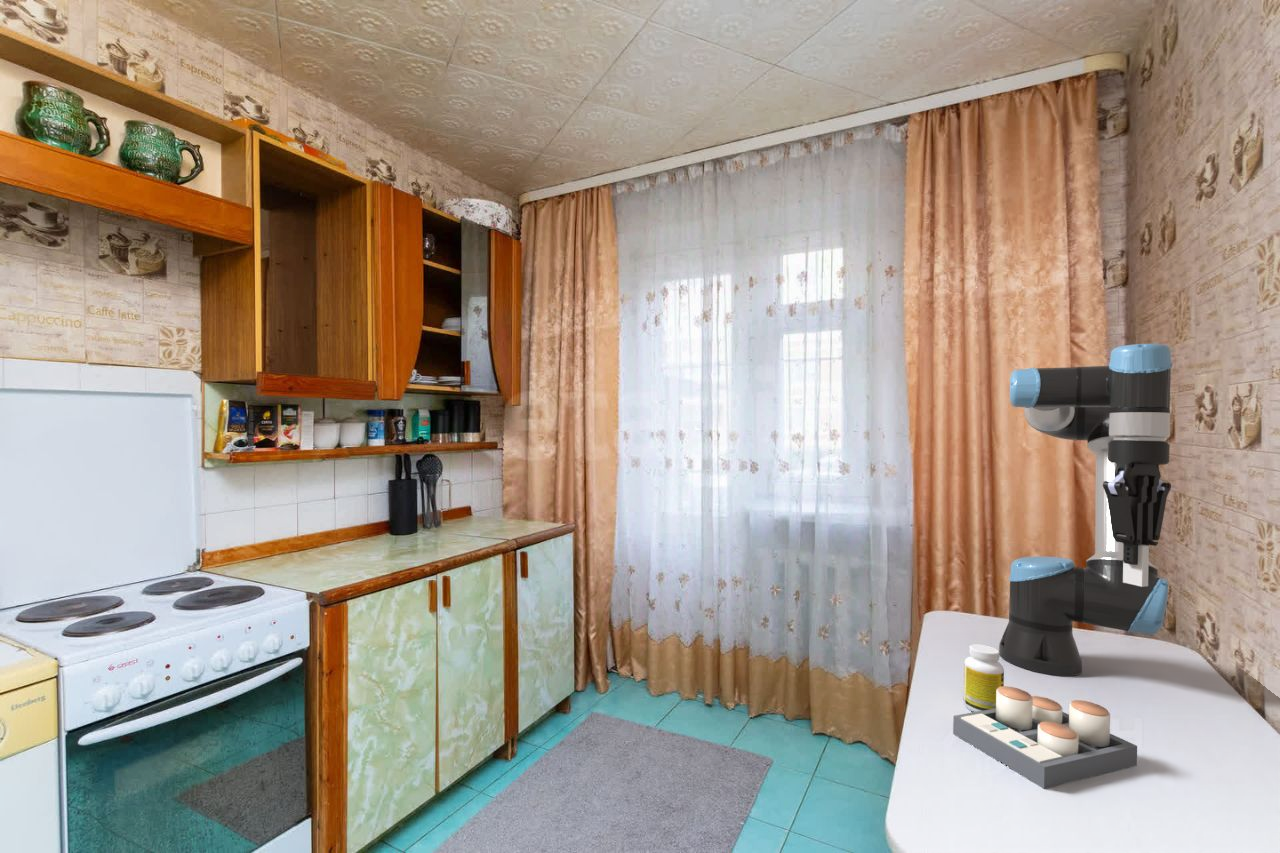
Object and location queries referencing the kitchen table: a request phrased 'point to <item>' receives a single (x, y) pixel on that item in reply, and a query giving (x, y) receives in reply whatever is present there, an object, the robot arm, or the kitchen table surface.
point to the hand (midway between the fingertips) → (1135, 584)
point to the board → (1041, 750)
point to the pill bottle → (982, 678)
